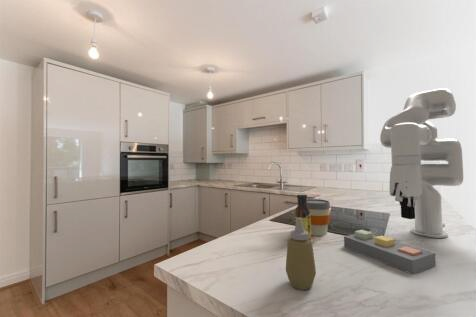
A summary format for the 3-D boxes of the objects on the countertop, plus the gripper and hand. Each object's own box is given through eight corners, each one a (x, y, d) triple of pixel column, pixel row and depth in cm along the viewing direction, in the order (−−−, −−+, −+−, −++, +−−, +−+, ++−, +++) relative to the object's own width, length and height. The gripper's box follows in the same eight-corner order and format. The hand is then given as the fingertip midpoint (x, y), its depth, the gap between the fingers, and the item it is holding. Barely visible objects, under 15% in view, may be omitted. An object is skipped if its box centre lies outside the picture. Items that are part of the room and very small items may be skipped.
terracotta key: (406, 252, 74) (406, 246, 74) (421, 257, 70) (421, 250, 70) (398, 255, 72) (398, 248, 72) (413, 260, 68) (413, 253, 68)
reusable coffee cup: (333, 231, 106) (332, 200, 106) (328, 239, 95) (327, 204, 96) (306, 227, 113) (306, 198, 113) (299, 234, 102) (298, 202, 103)
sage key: (362, 235, 88) (362, 229, 88) (372, 238, 84) (372, 232, 84) (354, 236, 86) (354, 231, 86) (365, 240, 82) (364, 234, 82)
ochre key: (382, 241, 81) (382, 235, 81) (395, 245, 77) (394, 239, 77) (374, 243, 79) (374, 237, 79) (386, 247, 75) (386, 241, 75)
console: (365, 241, 91) (364, 232, 91) (435, 265, 69) (435, 253, 69) (344, 246, 86) (343, 236, 87) (413, 274, 64) (412, 260, 65)
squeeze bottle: (282, 277, 64) (280, 215, 64) (309, 276, 65) (307, 214, 65) (291, 294, 56) (289, 223, 56) (321, 291, 57) (319, 221, 57)
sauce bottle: (312, 244, 90) (310, 195, 90) (296, 243, 91) (295, 195, 91) (310, 239, 96) (308, 193, 96) (295, 238, 97) (294, 193, 98)
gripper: (406, 161, 78) (408, 213, 78) (379, 162, 72) (381, 218, 72) (432, 160, 71) (434, 217, 71) (404, 161, 65) (407, 224, 65)
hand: (408, 218), depth 71 cm, fingers closed
